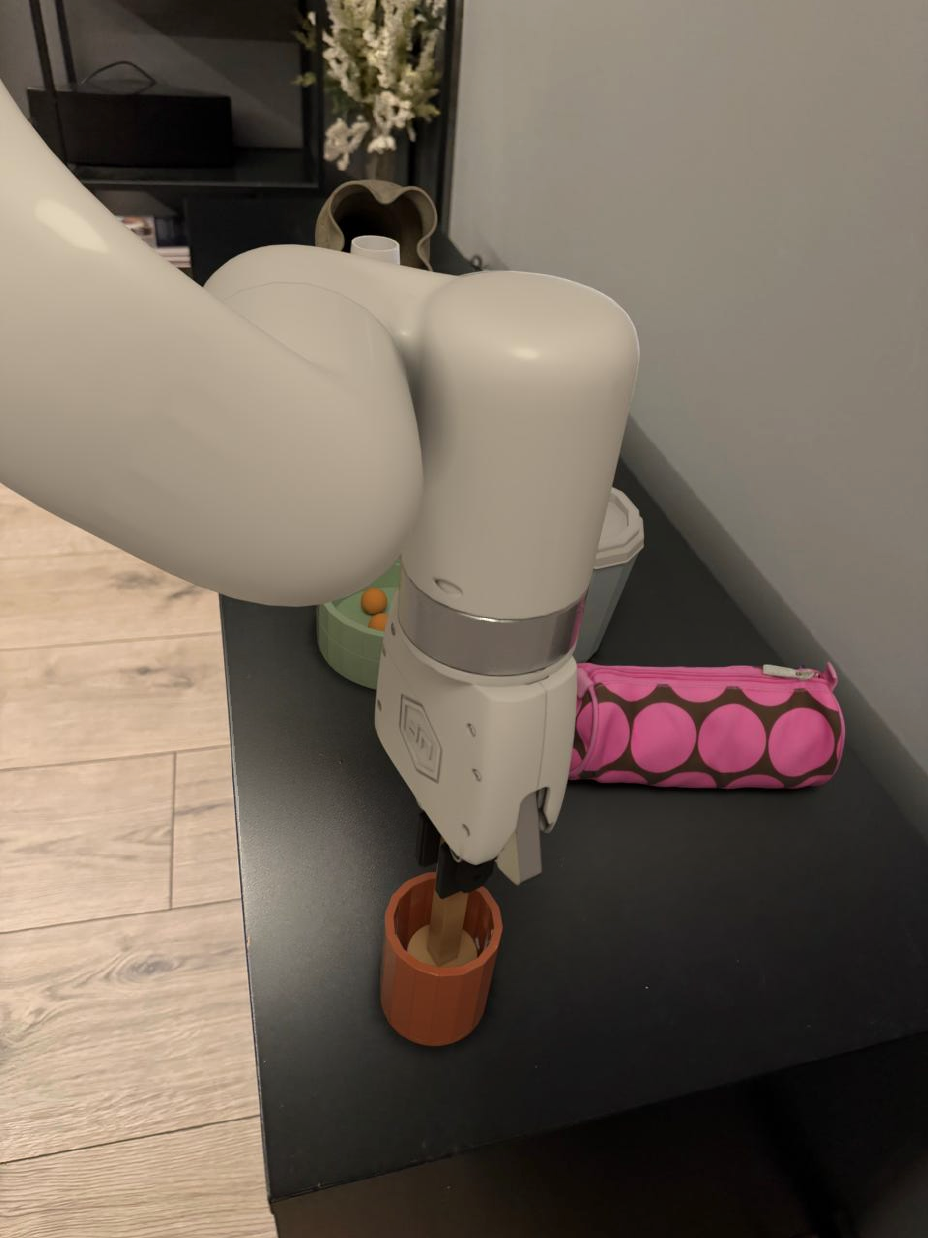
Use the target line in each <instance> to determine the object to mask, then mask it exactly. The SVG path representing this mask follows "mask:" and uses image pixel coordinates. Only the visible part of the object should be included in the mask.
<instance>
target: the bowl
mask: <svg viewBox="0 0 928 1238" xmlns="http://www.w3.org/2000/svg"><path fill="white" fill-rule="evenodd" d="M400 565H401V554H400V556H399V557H398V558H397V560H396V561H395V562H394V563H393V565H392V566H391V567H390V568H389V569H388V570H387V571H386V572H385V573H384V574H383V575H381V576H380V577H379V578H378V579H376V580H375V581H374V582H373V583H372V584H370V585H369V586H367V587H365V588H363V589H362V590H360V591H358V592H356V593H354V594H352V595H350V596H347V597H344V598H341V599H338V600H334V601H331V602H328V603H324V604H320V605H315V609H316V610H315V613H316V615H315V617H316V618H315V619H316V621H315V622H316V623H315V624H316V625H315V626H316V628H315V629H316V632H315V633H316V639H317V640H316V641H317V646H318V648H319V652H320V653H321V655H322V657H323V659H324V660H325V661H326V663H327V664H328V666H330V667H331V668H332V669H333V670H334V671H335V672H336V673H337V674H339V675H340V676H341V677H344V678H345V679H347V680H348V681H351V683H352V682H353V683H354V684H357V685H359V686H362V687H366V688H369V689H371V690H375V691H377V682H378V673H379V665H380V657H381V650H382V644H383V637H384V631H380V630H376V629H372V628H368V624H369V621H370V620H371V618H372V617H373V616H375V615H377V614H369V613H367V612H366V611H365V610H364V609H363V608H362V606H361V596H362V594H363V593H364V592H365V591H366V590H368V589H370V588H378V589H380V590H382V591H383V592H384V593H385V595H386V597H387V605H386V608H385V609H384V610H383V611H382V612H381V613H383V614H387V615H388V614H389V611H390V607H391V604H392V600H393V598H394V595H395V592H396V590H397V587H398V584H399V581H400ZM379 614H380V613H379Z"/></svg>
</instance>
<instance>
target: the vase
mask: <svg viewBox="0 0 928 1238" xmlns="http://www.w3.org/2000/svg"><path fill="white" fill-rule="evenodd" d="M437 226H438V213H437V208H436V206H435V203H434V201H433V200H432V198H431V196H430V195H429V194H428V193H427V192H426V191H425V190H423V189H422V188H420V187H418V186H414V185H408V186H402V185H400V184H397V183H395V182H391V181H387V180H381V179H360V180H349V181H346V182H344V183H342V184H340V185H338V186H337V187H336V188H335V189H334V190H333V191H332V192H331V194H330V196H329V197H328V198H327V200H326V201H325V203H324V204H323V206H322V207H321V210H320V212H319V214H318V216H317V220H316V224H315V230H314V231H315V232H314V245H315V247H321V248H326V249H332V250H336V251H341V252H346V253H351V243H352V240H353V239H354V238H357V237H361V236H381V237H386V238H390V239H392V240H395V241H396V242H398V243H399V253H400V265H402V266H407V267H411V268H416V269H421V270H426V271H431V272H434V270H433V267H432V266H431V264H430V256H431V237H432V235H433V234H434V233H435V231H436V228H437Z"/></svg>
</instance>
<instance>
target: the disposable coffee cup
mask: <svg viewBox="0 0 928 1238" xmlns="http://www.w3.org/2000/svg"><path fill="white" fill-rule="evenodd" d="M644 531H645V530H644V520H643V517H641V515H640V510H639V509H638V508H637V507H636V505H635V504H634V503H633V502H632V500H630V498H629V497H628V496H627V495H626V494H625V493H624V492H623V491H621V490H619V489H617V488H616V487H613V486H612V488H611V493H610V497H609V502H608V506H607V511H606V515H605V519H604V524H603V528H602V532H601V537H600V541H599V546H598V550H597V554H596V559H595V563H594V568H593V572H592V576H591V580H590V586H589V591H588V595H587V600H586V604H585V608H584V613H583V617H582V622H581V626H580V631H579V635H578V638H577V643H576V647H575V650H574V652H573V654H572V655H573V657H574V659H575V661H576V663H588V661H589V660H590V659H591V658H592V657H593V655H594V654H595V653H597V651H598V650H599V647H600V645H601V643H602V640H603V638H604V635H605V633H606V631H607V629H608V627H609V624H610V621H611V619H612V617H613V614H614V612H615V609H616V607H617V605H618V603H619V600H620V598H621V595H622V593H623V591H624V588H625V586H626V584H627V581H628V579H629V577H630V574H631V572H632V569H633V566H635V565H634V564H635V563H636V560H637V558H638V556H639V553H640V551H642V550H643V548H645V544H644V540H645V533H644Z"/></svg>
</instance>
